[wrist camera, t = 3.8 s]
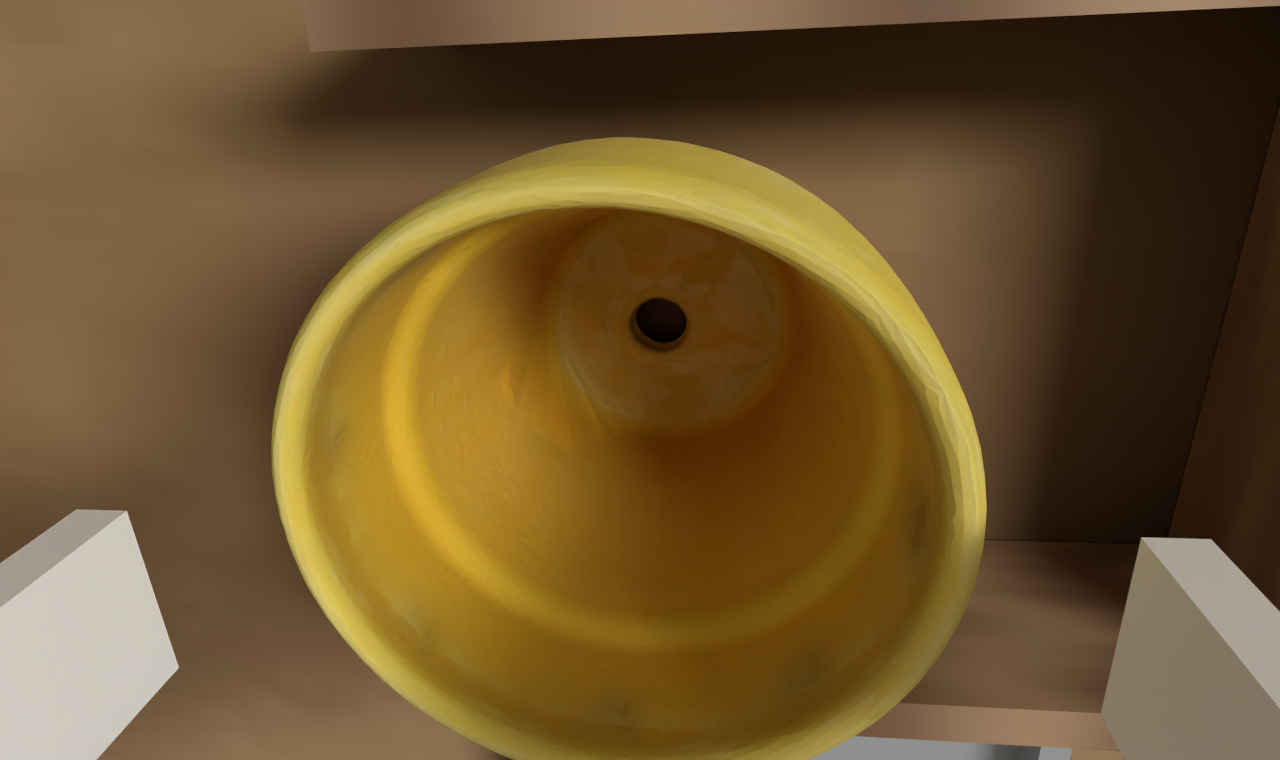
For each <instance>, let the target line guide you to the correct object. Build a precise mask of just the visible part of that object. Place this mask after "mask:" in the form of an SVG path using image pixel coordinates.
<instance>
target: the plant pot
mask: <svg viewBox="0 0 1280 760" xmlns="http://www.w3.org/2000/svg"><path fill="white" fill-rule="evenodd" d="M653 298H660V299H666V300H669V301H672V302H674V303H676V304H677V305H679V307H680V308H681V309H682V310H683V312H684V313H685V316H686V319H687V323H686V329H685V331H684V333H683V334H682V336H680V337H679V338H678V339H677V340H675V341H672V342H668V343H660V342H656V341H653V340H651V339H650V338H648V337H647V336H645V335H644V334H643V332H642V331H641V330H640V328H639V327H638V325H637V321H636V312H637V310H638V308H639V306H640V305H641V304H642V303H644V302H646V301H648V300H650V299H653ZM271 460H272V475H273V483H274V490H275V497H276V501H277V506H278V510H279V515H280V519H281V522H282V525H283V528H284V531H285V534H286V537H287V540H288V543H289V546H290V548H291V551H292V553H293V556H294V558H295V560H296V563H297V565H298V567H299V569H300V572H301V574H302V576H303V578H304V580H305V582H306V584H307V586H308V588H309V590H310V591H311V593H312V595H313V596H314V598H315V600H316V601H317V603H318V604H319V606H320V607H321V609H322V610H323V612H324V614H325V615H326V617H327V618H328V619H329V621H330V622H331V623H332V625H333V626H334V627H335V629H336V630H337V631H338V633H339V634H340V635H341V636H342V638H343V639H344V640H345V641H346V642H347V644H348V645H349V646H350V647H351V648H352V650H353V651H354V652H355V653H356V654H357V655H358V656H359V657H360V658H361V659H362V660H363V661H364V663H365V664H366V665H367V666H368V667H369V668H370V669H371V670H372V671H373V672H375V673H376V674H377V675H378V676H379V677H380V678H381V679H382V680H383V681H384V682H385V683H386V684H388V685H389V686H390V687H391V688H393V689H394V690H395V691H396V692H397V693H399V694H400V695H401V696H402V697H403V698H405V699H406V700H407V701H408V702H409V703H411V704H412V705H413V706H414V707H416V708H417V709H419V710H420V711H422V712H423V713H425V714H426V715H428V716H429V717H431V718H432V719H434V720H435V721H437V722H438V723H440V724H441V725H443V726H445V727H447V728H448V729H450V730H452V731H453V732H455V733H457V734H458V735H460V736H462V737H464V738H466V739H468V740H470V741H472V742H474V743H476V744H478V745H480V746H482V747H484V748H486V749H488V750H491V751H493V752H495V753H498V754H500V755H502V756H505V757H507V758H510V759H513V760H808V759H811V758H813V757H816V756H818V755H820V754H822V753H824V752H826V751H828V750H830V749H832V748H833V747H835V746H837V745H839V744H841V743H843V742H845V741H847V740H848V739H850V738H852V737H853V736H855V735H857V734H858V733H860V732H861V731H863V730H864V729H866V728H867V727H869V726H870V725H872V724H873V723H875V722H876V721H877V720H879V719H880V718H881V717H882V716H884V715H885V714H886V713H887V712H888V711H890V710H891V709H892V708H893V707H894V706H896V705H897V704H898V703H899V702H900V701H901V700H902V699H903V698H904V697H905V696H906V695H907V694H908V693H909V692H910V691H911V690H912V689H913V688H914V687H915V686H916V685H917V684H918V683H919V682H920V681H921V679H922V678H923V677H924V675H925V674H926V673H927V672H928V670H929V669H930V668H931V666H932V665H933V664H934V663H935V661H936V660H937V659H938V657H939V656H940V655H941V653H942V651H943V650H944V648H945V647H946V645H947V643H948V641H949V640H950V638H951V636H952V635H953V633H954V631H955V630H956V628H957V626H958V624H959V622H960V620H961V618H962V615H963V613H964V611H965V609H966V607H967V605H968V603H969V600H970V597H971V594H972V591H973V588H974V585H975V582H976V579H977V575H978V571H979V566H980V561H981V557H982V552H983V547H984V538H985V527H986V513H987V505H986V487H985V474H984V467H983V460H982V453H981V447H980V443H979V440H978V436H977V432H976V428H975V424H974V420H973V417H972V414H971V411H970V408H969V406H968V403H967V401H966V398H965V395H964V393H963V391H962V388H961V386H960V384H959V382H958V379H957V377H956V375H955V373H954V371H953V369H952V367H951V364H950V362H949V360H948V358H947V356H946V354H945V352H944V350H943V349H942V347H941V345H940V343H939V341H938V339H937V337H936V335H935V334H934V332H933V330H932V328H931V327H930V325H929V323H928V321H927V320H926V318H925V316H924V315H923V313H922V312H921V310H920V308H919V307H918V305H917V304H916V302H915V300H914V299H913V297H912V296H911V294H910V293H909V291H908V290H907V288H906V287H905V286H904V284H903V283H902V282H901V280H900V279H899V278H898V276H897V275H896V274H895V272H894V271H893V270H892V268H891V267H890V266H889V264H888V263H887V262H886V261H885V260H884V258H883V257H882V256H881V255H880V254H879V253H878V252H877V251H876V250H875V248H874V247H873V246H872V245H871V244H870V243H869V242H868V241H867V240H866V238H865V237H864V236H863V235H862V234H860V233H859V232H858V231H857V230H856V229H855V228H854V227H853V226H852V225H851V224H850V223H849V222H848V221H846V220H845V219H844V218H843V217H842V216H841V215H840V214H839V213H838V212H836V211H835V210H834V209H832V208H831V207H830V206H828V205H827V204H826V203H824V202H823V201H822V200H820V199H819V198H818V197H816V196H815V195H814V194H812V193H810V192H809V191H807V190H806V189H804V188H802V187H801V186H799V185H798V184H796V183H794V182H793V181H791V180H789V179H787V178H785V177H783V176H782V175H780V174H778V173H776V172H774V171H772V170H770V169H768V168H766V167H763V166H760V165H758V164H755V163H753V162H750V161H748V160H745V159H743V158H740V157H737V156H734V155H731V154H728V153H725V152H722V151H719V150H714V149H710V148H706V147H702V146H698V145H693V144H688V143H683V142H677V141H668V140H659V139H648V138H630V137H613V138H601V139H589V140H582V141H576V142H571V143H565V144H559V145H555V146H551V147H548V148H544V149H541V150H537V151H534V152H530V153H528V154H525V155H522V156H519V157H517V158H514V159H511V160H508V161H506V162H503V163H500V164H497V165H495V166H493V167H491V168H488V169H486V170H484V171H482V172H480V173H478V174H476V175H474V176H471V177H469V178H467V179H466V180H464V181H462V182H460V183H458V184H456V185H454V186H452V187H450V188H448V189H446V190H444V191H442V192H440V193H439V194H437V195H435V196H433V197H432V198H430V199H428V200H426V201H425V202H423V203H422V204H420V205H419V206H417V207H416V208H414V209H412V210H411V211H409V212H408V213H406V214H405V215H403V216H402V217H400V218H399V219H397V220H395V221H394V222H392V223H391V224H389V225H388V226H387V227H386V228H385V229H383V230H382V231H381V232H380V233H379V234H377V235H376V236H375V237H374V238H373V239H372V240H370V241H369V242H368V243H367V244H366V245H364V246H363V247H362V248H361V249H360V250H359V251H358V252H357V253H356V254H355V255H354V256H353V257H352V258H351V259H350V260H349V261H348V262H347V263H346V264H345V265H344V266H343V267H342V268H341V270H340V271H339V272H338V273H337V274H336V275H335V276H334V277H333V279H332V280H331V281H330V282H329V283H328V284H327V286H326V287H325V289H324V290H323V291H322V293H321V294H320V296H319V297H318V299H317V300H316V301H315V303H314V305H313V306H312V308H311V310H310V311H309V313H308V315H307V316H306V318H305V320H304V322H303V324H302V325H301V327H300V329H299V331H298V333H297V335H296V338H295V340H294V342H293V344H292V347H291V349H290V351H289V354H288V357H287V361H286V364H285V367H284V371H283V374H282V377H281V381H280V384H279V388H278V392H277V398H276V403H275V409H274V416H273V426H272V441H271Z"/></svg>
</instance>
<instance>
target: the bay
mask: <svg viewBox="0 0 1280 760" xmlns="http://www.w3.org/2000/svg"><path fill="white" fill-rule="evenodd" d="M301 3H302V8H303V13H304V18H305V23H306V29H307V34H308V39H309V44H310V49H311V52H319V51H340V50H361V49H382V48H403V47H424V46H445V45H465V44H486V43H507V42H528V41H549V40H570V39H591V38H612V37H633V36H654V35H675V34H696V33H717V32H738V31H759V30H780V29H801V28H822V27H843V26H864V25H885V24H906V23H927V22H948V21H969V20H990V19H1011V18H1032V17H1053V16H1074V15H1095V14H1115V13H1136V12H1157V11H1178V10H1199V9H1220V8H1241V7H1262V6H1280V0H301ZM1168 538H1187V539H1211V540H1212V541H1213V542H1214V543H1215V544H1216V545H1217V546H1218V547H1219V548H1220V549H1221V550H1222V551H1223V552H1224V553H1225V554H1226V555H1227V557H1228V558H1229V559H1230V560H1231V561H1232V562H1233V563H1234V564H1235V565H1236V566H1237V567H1238V568H1239V569H1240V570H1241V571H1242V572H1243V573H1244V575H1245V576H1246V577H1247V578H1248V579H1249V580H1250V581H1251V582H1252V583H1253V584H1254V585H1255V586H1256V587H1257V588H1258V589H1259V590H1260V591H1261V592H1262V594H1263V595H1264V596H1265V597H1266V598H1267V599H1268V600H1269V601H1270V602H1271V603H1272V604H1273V605H1274V606H1275V607H1276V608H1277V609H1278V610H1279V611H1280V105H1279V109H1278V113H1277V116H1276V120H1275V124H1274V128H1273V132H1272V136H1271V140H1270V143H1269V147H1268V151H1267V155H1266V159H1265V163H1264V167H1263V171H1262V174H1261V178H1260V182H1259V186H1258V190H1257V194H1256V198H1255V202H1254V205H1253V209H1252V213H1251V217H1250V221H1249V225H1248V229H1247V232H1246V236H1245V240H1244V244H1243V248H1242V252H1241V256H1240V260H1239V263H1238V267H1237V271H1236V275H1235V279H1234V283H1233V287H1232V291H1231V294H1230V298H1229V302H1228V306H1227V310H1226V314H1225V318H1224V322H1223V325H1222V329H1221V333H1220V337H1219V341H1218V345H1217V349H1216V352H1215V356H1214V360H1213V364H1212V368H1211V372H1210V376H1209V380H1208V383H1207V387H1206V391H1205V395H1204V399H1203V403H1202V407H1201V411H1200V414H1199V418H1198V422H1197V426H1196V430H1195V434H1194V438H1193V441H1192V445H1191V449H1190V453H1189V457H1188V461H1187V465H1186V469H1185V472H1184V476H1183V480H1182V484H1181V488H1180V492H1179V496H1178V500H1177V503H1176V507H1175V511H1174V515H1173V519H1172V523H1171V527H1170V530H1169V534H1168ZM1139 545H1140V544H1115V543H1079V542H1042V541H1005V540H984V547H983V552H982V557H981V561H980V566H979V571H978V575H977V579H976V582H975V585H974V588H973V591H972V594H971V597H970V600H969V603H968V605H967V607H966V609H965V611H964V613H963V615H962V618H961V620H960V622H959V624H958V626H957V628H956V630H955V631H954V633H953V635H952V636H951V638H950V640H949V641H948V643H947V645H946V647H945V648H944V650H943V651H942V653H941V655H940V656H939V657H938V659H937V660H936V661H935V663H934V664H933V665H932V666H931V668H930V669H929V670H928V672H927V673H926V674H925V675H924V677H923V678H922V679H921V681H920V682H919V683H918V684H917V685H916V686H915V687H914V688H913V689H912V690H911V691H910V692H909V693H908V694H907V695H906V696H905V697H904V698H903V699H902V700H901V701H900V702H899V703H898V704H897V705H896V706H894V707H893V708H892V709H891V710H890V711H888V712H887V713H886V714H885V715H884V716H882V717H881V718H880V719H879V720H877V721H876V722H875V723H873V724H872V725H870V726H869V727H867V728H866V729H864V730H863V731H861V732H860V733H858V734H857V735H855V736H860V737H878V738H896V739H913V740H931V741H949V742H966V743H984V744H1002V745H1019V746H1037V747H1055V748H1072V749H1090V750H1108V751H1119V749H1118V747H1117V745H1116V743H1115V742H1114V740H1113V738H1112V736H1111V734H1110V732H1109V730H1108V729H1107V727H1106V725H1105V723H1104V721H1103V719H1102V717H1101V715H1100V714H1101V710H1102V706H1103V701H1104V697H1105V693H1106V688H1107V684H1108V680H1109V675H1110V671H1111V667H1112V662H1113V658H1114V654H1115V649H1116V645H1117V640H1118V636H1119V632H1120V627H1121V623H1122V619H1123V614H1124V610H1125V606H1126V601H1127V597H1128V593H1129V588H1130V584H1131V580H1132V575H1133V571H1134V567H1135V562H1136V558H1137V554H1138V549H1139Z"/></svg>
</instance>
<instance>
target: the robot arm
mask: <svg viewBox="0 0 1280 760" xmlns="http://www.w3.org/2000/svg"><path fill="white" fill-rule="evenodd" d="M178 668H179V666H178V663H177V660H176V657H175V654H174V651H173V648H172V645H171V642H170V639H169V636H168V633H167V630H166V627H165V624H164V621H163V618H162V615H161V612H160V609H159V606H158V603H157V600H156V597H155V594H154V591H153V588H152V585H151V582H150V579H149V576H148V573H147V570H146V567H145V564H144V561H143V558H142V555H141V552H140V549H139V546H138V543H137V540H136V537H135V534H134V531H133V528H132V525H131V522H130V519H129V516H128V513H127V511H117V510H79V509H76V510H75V511H73V512H72V513H71V514H69V515H68V516H66V517H65V518H63V519H62V520H61V521H59V522H58V523H56V524H55V525H54V526H52V527H51V528H49V529H48V530H46V531H45V532H44V533H42V534H41V535H39V536H38V537H37V538H35V539H34V540H32V541H31V542H29V543H28V544H27V545H25V546H24V547H22V548H21V549H20V550H18V551H17V552H15V553H14V554H12V555H11V556H10V557H8V558H7V559H5V560H4V561H3V562H1V563H0V760H97V759H98V757H99V756H100V755H101V754H102V753H103V752H104V751H105V750H106V749H107V747H108V746H109V745H110V744H111V743H112V742H113V741H114V740H115V738H116V737H117V736H118V735H119V734H120V733H121V732H122V731H123V730H124V728H125V727H126V726H127V725H128V724H129V723H130V722H131V721H132V719H133V718H134V717H135V716H136V715H137V714H138V713H139V712H140V711H141V709H142V708H143V707H144V706H145V705H146V704H147V703H148V702H149V700H150V699H151V698H152V697H153V696H154V695H155V694H156V693H157V692H158V690H159V689H160V688H161V687H162V686H163V685H164V684H165V683H166V681H167V680H168V679H169V678H170V677H171V676H172V675H173V674H174V673H175V671H176V670H177V669H178ZM1100 715H1101V717H1102V719H1103V721H1104V723H1105V725H1106V727H1107V729H1108V730H1109V732H1110V734H1111V736H1112V738H1113V740H1114V742H1115V743H1116V745H1117V747H1118V749H1119V751H1120V753H1121V755H1122V757H1123V758H1124V760H1280V611H1279V610H1278V609H1277V608H1276V607H1275V606H1274V605H1273V604H1272V603H1271V602H1270V601H1269V600H1268V599H1267V598H1266V597H1265V596H1264V595H1263V594H1262V592H1261V591H1260V590H1259V589H1258V588H1257V587H1256V586H1255V585H1254V584H1253V583H1252V582H1251V581H1250V580H1249V579H1248V578H1247V577H1246V576H1245V575H1244V573H1243V572H1242V571H1241V570H1240V569H1239V568H1238V567H1237V566H1236V565H1235V564H1234V563H1233V562H1232V561H1231V560H1230V559H1229V558H1228V557H1227V555H1226V554H1225V553H1224V552H1223V551H1222V550H1221V549H1220V548H1219V547H1218V546H1217V545H1216V544H1215V543H1214V542H1213V541H1212V540H1211V539H1187V538H1149V537H1141V541H1140V545H1139V549H1138V554H1137V558H1136V562H1135V567H1134V571H1133V575H1132V580H1131V584H1130V588H1129V593H1128V597H1127V601H1126V606H1125V610H1124V614H1123V619H1122V623H1121V627H1120V632H1119V636H1118V640H1117V645H1116V649H1115V654H1114V658H1113V662H1112V667H1111V671H1110V675H1109V680H1108V684H1107V688H1106V693H1105V697H1104V701H1103V706H1102V710H1101V714H1100Z"/></svg>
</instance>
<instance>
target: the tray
mask: <svg viewBox="0 0 1280 760" xmlns="http://www.w3.org/2000/svg"><path fill="white" fill-rule="evenodd" d="M1071 752H1072V748H1055V747H1037V746H1019V745H1002V744H984V743H966V742H949V741H931V740H913V739H896V738H878V737H860V736H853V737H852V738H850V739H848V740H847V741H845V742H843V743H841V744H839V745H837V746H835V747H833V748H832V749H830V750H828V751H826V752H824V753H822V754H820V755H818V756H816V757H813V758H811V759H808V760H1070V756H1071Z"/></svg>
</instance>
